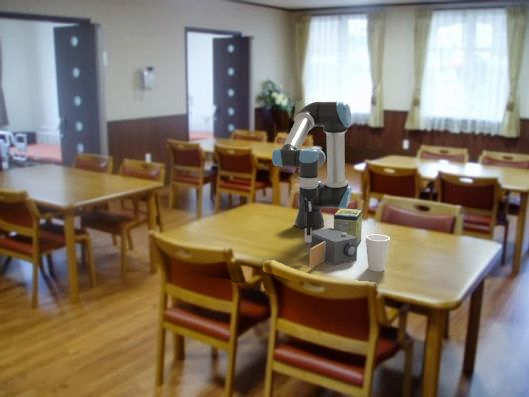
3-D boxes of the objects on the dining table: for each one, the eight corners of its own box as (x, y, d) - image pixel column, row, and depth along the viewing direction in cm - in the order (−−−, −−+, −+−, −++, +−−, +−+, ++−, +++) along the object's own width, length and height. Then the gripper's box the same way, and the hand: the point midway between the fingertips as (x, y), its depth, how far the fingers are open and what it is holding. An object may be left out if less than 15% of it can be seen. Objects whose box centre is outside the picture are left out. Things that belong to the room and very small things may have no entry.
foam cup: (362, 265, 221) (363, 234, 218) (384, 264, 222) (385, 234, 219) (368, 273, 212) (369, 241, 209) (391, 272, 213) (393, 240, 210)
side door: (308, 268, 215) (309, 248, 213) (323, 259, 225) (323, 241, 223) (311, 268, 214) (312, 249, 212) (325, 260, 224) (326, 241, 222)
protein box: (361, 241, 254) (362, 209, 250) (355, 250, 239) (356, 217, 236) (339, 239, 257) (340, 207, 254) (332, 248, 243) (333, 215, 239)
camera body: (329, 249, 242) (330, 225, 239) (359, 261, 225) (360, 236, 223) (307, 253, 235) (308, 229, 233) (337, 266, 219) (337, 240, 216)
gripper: (298, 183, 226) (297, 237, 232) (301, 190, 214) (300, 247, 219) (315, 183, 226) (315, 236, 232) (319, 190, 214) (319, 246, 220)
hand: (308, 241), depth 226 cm, fingers closed
